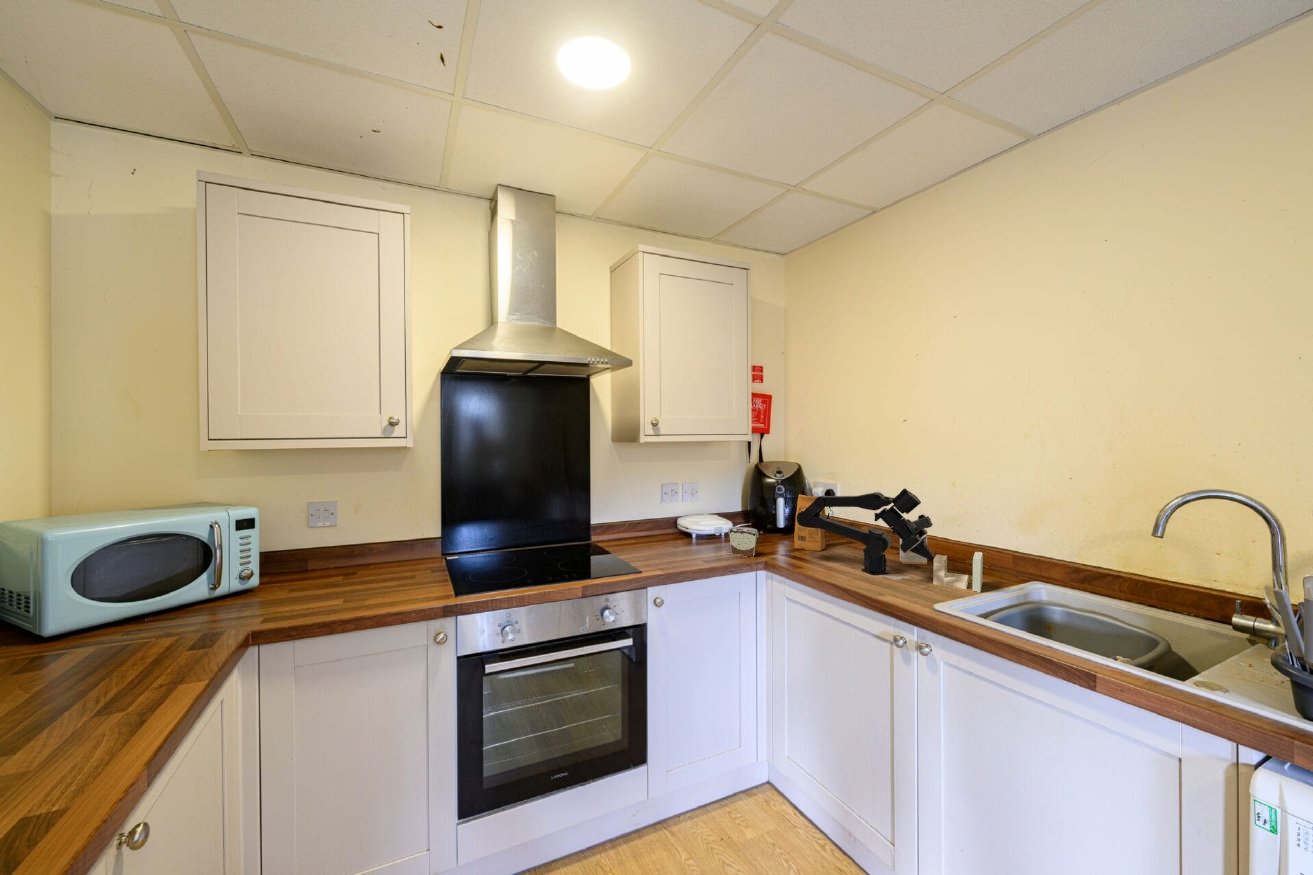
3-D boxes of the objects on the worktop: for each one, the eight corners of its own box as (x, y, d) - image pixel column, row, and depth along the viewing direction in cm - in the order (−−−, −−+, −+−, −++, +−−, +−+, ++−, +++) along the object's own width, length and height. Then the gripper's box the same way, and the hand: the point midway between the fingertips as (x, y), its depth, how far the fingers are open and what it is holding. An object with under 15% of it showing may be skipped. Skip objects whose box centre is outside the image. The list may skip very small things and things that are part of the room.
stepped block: (933, 584, 167) (933, 559, 167) (936, 578, 174) (936, 554, 173) (966, 589, 162) (966, 563, 162) (968, 583, 168) (968, 558, 168)
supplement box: (922, 561, 196) (922, 526, 195) (927, 565, 191) (927, 529, 191) (898, 561, 196) (899, 526, 196) (903, 564, 192) (904, 528, 191)
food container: (763, 554, 205) (763, 529, 205) (757, 557, 200) (757, 531, 200) (734, 550, 212) (734, 525, 212) (727, 553, 207) (727, 528, 207)
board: (972, 591, 160) (972, 558, 160) (974, 582, 169) (975, 551, 169) (980, 592, 159) (980, 559, 158) (982, 583, 168) (982, 552, 167)
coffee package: (799, 544, 225) (799, 492, 224) (828, 548, 217) (828, 495, 217) (790, 548, 216) (790, 495, 216) (820, 552, 209) (821, 497, 209)
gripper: (911, 510, 166) (951, 550, 159) (920, 504, 181) (957, 539, 175) (884, 533, 170) (922, 572, 164) (895, 524, 185) (930, 560, 179)
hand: (934, 560), depth 170 cm, fingers closed, pressing on stepped block
